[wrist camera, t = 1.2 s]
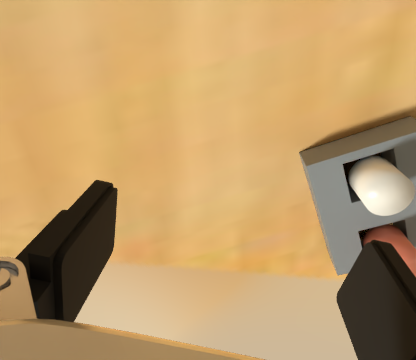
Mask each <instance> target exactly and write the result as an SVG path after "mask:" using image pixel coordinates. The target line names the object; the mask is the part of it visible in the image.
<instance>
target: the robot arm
mask: <svg viewBox="0 0 416 360" xmlns="http://www.w3.org/2000/svg"><path fill="white" fill-rule="evenodd" d="M116 206H117V188H113V184H112V183H109V182H104V181H100V180H96V181H94V182H93V184H92V185H91V186H90V187H89V188H88V189H87V190H86V191H85V192H84V193H83V194H82V195H81V196H80V197H79V199H78V200H77V201H76V202H75V203H74V204H73V205H72V206H71V207H70V208H69V209H68V210H62V211H61V212H59V213H58V214H57V215H56V216H55V218H54V219H53V220H52V221H51V222H50V223H49V224H48V225H47V226H46V227H45V228H44V229H43V230H42V231H41V232H40V233H39V234H38V235H37V236H36V237H35V238H34V239H33V240H32V241H31V242H30V243H29V244H28V245H27V246H26V248H25V249H24V250H23V251H22V252H21V253H20V254H19V255H18V256H17V257H16V258H11V257H0V360H265V359H259V358H254V357H250V356H245V355H240V354H236V353H231V352H226V351H221V350H216V349H211V348H206V347H201V346H197V345H191V344H187V343H181V342H177V341H172V340H167V339H162V338H157V337H152V336H147V335H142V334H137V333H132V332H126V331H121V330H116V329H110V328H105V327H99V326H94V325H89V324H83V323H75V322H74V320H75V319H76V317H77V315H78V313H79V312H80V310H81V308H82V306H83V304H84V302H85V300H86V299H87V297H88V295H89V294H90V292H91V290H92V288H93V286H94V284H95V283H96V281H97V279H98V277H99V275H100V274H101V272H102V270H103V268H104V267H105V265H106V263H107V261H108V259H109V258H110V256H111V254H112V251H113V248H114V237H115V222H116ZM337 303H338V306H339V309H340V311H341V314H342V317H343V319H344V322H345V325H346V328H347V331H348V333H349V336H350V339H351V342H352V344H353V347H354V350H355V352H356V355H357V358H358V360H416V277H415V275H414V274H413V273H412V271H411V270H410V268H409V267H408V266H407V264H406V263H405V262H404V260H403V259H402V257H401V256H400V255H399V253H398V252H397V250H396V249H395V248H394V246H393V245H392V244H391V243H388V242H383V241H379V240H372V241H370V243H369V242H368V243H366V244H365V245H364V247H363V249H362V250H361V252H360V254H359V256H358V257H357V259H356V261H355V263H354V265H353V266H352V268H351V270H350V272H349V273H348V275H347V277H346V279H345V280H344V282H343V284H342V286H341V288H340V289H339V291H338V293H337Z"/></svg>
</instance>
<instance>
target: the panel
mask: <svg viewBox="0 0 416 360" xmlns="http://www.w3.org/2000/svg"><path fill="white" fill-rule="evenodd" d="M377 153H380V154H381V157H383V158H385V159H386V160H388V161H389V162H390V163H391V164H392V165H393V166H395V167H396V168H397V169H398V170H399V171H400V172H402V173H403V174H404V175H405V176H406V177H407V178H408V179H410V180H411V181H412V183H413V185H414V187H415V195H414V198H413V200H412V202H411V203H410V204H409V205H408V206H407V207H406V208H405V209H404V210H402V211H401V212H399V213H396V214H393V215H389V216H380V215H376V214H373V213H371V212H370V211H369V210H368V209H367V208H366V206H365V205H364V204H363V202H362V201H361V200H360V198H359V197H358V195H357V194H356V193H355V191H354V190H353V189H352V187H351V186H350V184H347V181H346V177H345V173H344V169H343V164H344V163H347V162H351V161H354V160H357V159H361V158H364V157H367V156H370V155H374V154H377ZM299 154H300V157H301V160H302V164H303V167H304V171H305V174H306V177H307V181H308V184H309V188H310V191H311V194H312V198H313V201H314V205H315V208H316V212H317V215H318V218H319V222H320V225H321V229H322V232H323V235H324V239H325V242H326V246H327V249H328V252H329V255H330V258H331V260H332V263H333V265H334V267H335V270H336V272H337V275H342V274H346V273H349V272H350V270H351V268H352V266H353V265H354V263H355V261H356V259H357V257H358V256H359V254H360V252H361V250H362V249H363V247H364V246H363V240H361V241H360V237H359V233H358V231H361V230H365V229H369V228H373V227H377V226H381V225H385V224H389V223H393V225H394V226H396V227H398V228H399V229H400V230H401V231H402V232H403V234H404V235H405V236H406V237H407V239H408V240H409V241H410V242H411V243H412V245H413V246H414V247H415V248H416V119H415V118H413V117H411V116H409V117H406V118H403V119H400V120H397V121H394V122H391V123H388V124H385V125H382V126H379V127H376V128H373V129H369V130H366V131H363V132H360V133H357V134H354V135H351V136H348V137H345V138H342V139H339V140H336V141H333V142H329V143H326V144H323V145H320V146H317V147H314V148H311V149H308V150H305V151H302V152H299Z"/></svg>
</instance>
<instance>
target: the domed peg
mask: <svg viewBox="0 0 416 360" xmlns="http://www.w3.org/2000/svg"><path fill="white" fill-rule="evenodd" d="M348 181H349V184H350V186H351V187H352V189H353V190H354V191H355V193H356V194H357V195H358V197H359V198H360V200H361V201H362V202H363V204H364V205H365V206H366V208H367V209H368V210H369V211H370V212H371V213H373V214H376V215H380V216H389V215H393V214H396V213H399V212H401V211H402V210H404V209H405V208H406V207H407V206H408V205H409V204H410V203H411V202H412V200H413V198H414V195H415V187H414V185H413V183H412V181H411V180H410V179H408V178H407V177H406V176H405V175H404V174H403V173H402V172H400V171H399V170H398V169H397V168H396V167H395V166H393V165H392V164H391V163H390V162H389V161H388V160H386V159H385V158H383V157H380V156H368V157H365V158H363V159H361V160H359V161H358V162H356V163H355V164H354V165H353V166H352V168H351V169H350V171H349V175H348Z"/></svg>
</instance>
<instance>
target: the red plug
mask: <svg viewBox="0 0 416 360" xmlns="http://www.w3.org/2000/svg"><path fill="white" fill-rule="evenodd" d="M372 240H379V241H383V242H388V243H391V244H392V245H393V246H394V248H395V249H396V250H397V252H398V253H399V255H400V256H401V257H402V259H403V260H404V262H405V263H406V264H407V266H408V267H409V268H410V270H411V271H412V273H413V274H414V275H415V277H416V248H415V247H414V246H413V245H412V243H411V242H410V241H409V240H408V239H407V237H406V236H405V235H404V234H403V232H402V231H401V230H400V229H399V228H398V227H396V226H394V225H390V224H385V225H381V226H377V227H373V228H372V229H370V230H369V231H368V232H367V233H366V234H365V236H364V238H363V246H364V245H365V244H366V243H368V242H369V243H370V241H372Z"/></svg>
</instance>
